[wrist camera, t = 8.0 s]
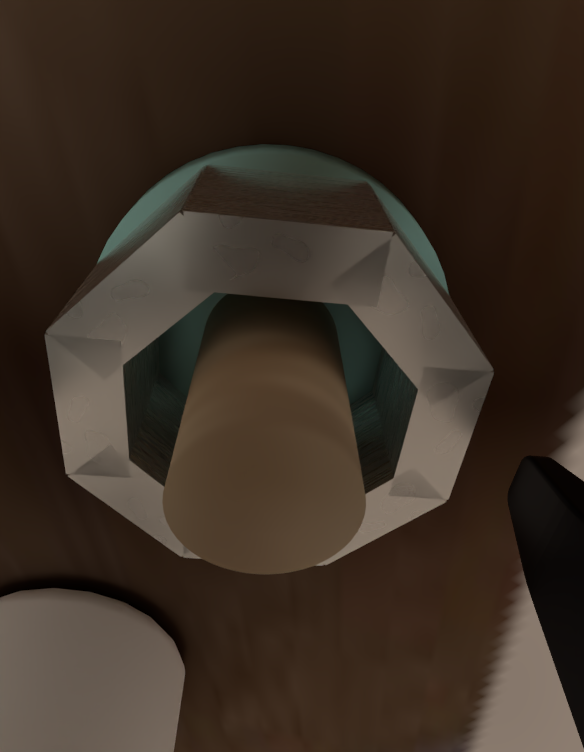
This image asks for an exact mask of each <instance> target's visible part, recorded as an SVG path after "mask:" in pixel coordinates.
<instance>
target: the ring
mask: <svg viewBox="0 0 584 752" xmlns="http://www.w3.org/2000/svg"><path fill="white" fill-rule="evenodd" d="M214 292H217V293H228V294H239V295H249V296H260V297H271V298H282V299H293V300H304V301H315V302H326V303H337V304H348V305H349V307H350V308H351V309H352V310H353V311H354V313H355V314H356V315H357V316H358V317H359V319H360V320H361V321H362V322H363V323H364V325H365V326H366V327H367V328H368V329H369V331H370V332H371V333H372V334H373V335H374V337H375V338H376V339H377V340H378V342H379V343H380V344H381V345H382V349H381V354H380V358H379V363H378V367H377V372H376V376H375V381H374V385H373V390H372V391H370V392H369V393H367V394H366V395H364V396H363V397H361V398H359V399H358V400H356V401H355V402H353V403H352V404H350V409H351V415H352V420H353V426H354V432H355V438H356V443H357V449H358V455H359V461H360V466H361V472H362V478H363V484H364V489H365V495H366V509H365V516H364V519H363V521H362V524H361V526H360V528H359V530H358V532H357V533H356V535H355V536H354V537H353V539H352V540H351V541H350V542H349V543H348V544H347V545H346V546H345V547H344V548H343V549H342V550H340V551H339V552H338V553H337V554H335V555H334V556H332V557H330V558H329V559H327V560H325V561H323V562H321V563H319V564H317V566H323V564H325V565H327V564H329V563H331V562H333V561H335V560H337V559H339V558H341V557H343V556H344V555H346V554H348V553H350V552H352V551H354V550H356V549H358V548H360V547H362V546H363V545H365V544H367V543H369V542H371V541H373V540H375V539H377V538H379V537H381V536H382V535H384V534H386V533H388V532H390V531H392V530H394V529H396V528H398V527H400V526H401V525H403V524H405V523H407V522H409V521H411V520H413V519H415V518H417V517H419V516H420V515H422V514H424V513H426V512H428V511H430V510H432V509H434V508H436V507H438V506H439V505H441V504H443V503H445V502H446V500H448V499H449V497H450V494H451V491H452V488H453V486H454V483H455V480H456V477H457V474H458V472H459V469H460V466H461V463H462V461H463V458H464V455H465V452H466V450H467V447H468V444H469V441H470V438H471V436H472V433H473V430H474V427H475V425H476V422H477V419H478V416H479V413H480V411H481V408H482V405H483V402H484V400H485V397H486V394H487V391H488V389H489V386H490V383H491V380H492V377H493V375H494V371H493V370H494V369H493V367H492V366H491V364H490V362H489V361H488V359H487V357H486V356H485V354H484V352H483V351H482V349H481V347H480V346H479V344H478V342H477V341H476V339H475V337H474V336H473V334H472V332H471V331H470V329H469V327H468V326H467V324H466V323H465V321H464V319H463V318H462V316H461V314H460V313H459V311H458V309H457V308H456V306H455V304H454V303H453V301H452V299H451V298H450V296H449V294H448V293H447V292H446V290H445V289H444V287H443V286H442V285H441V283H440V282H439V280H438V279H437V278H436V276H435V275H434V273H433V272H432V271H431V269H430V268H429V266H428V265H427V264H426V262H425V261H424V259H423V258H422V256H421V255H420V254H419V252H418V251H417V249H416V248H415V247H414V245H413V244H412V242H411V241H410V240H409V238H408V237H407V235H406V234H405V233H404V231H403V230H402V228H401V227H400V226H399V224H398V223H397V221H396V220H395V219H394V217H393V216H392V214H391V213H390V211H389V210H388V209H387V207H386V206H385V204H384V203H383V202H382V200H381V199H380V197H379V196H378V195H377V193H376V192H375V190H374V189H373V188H372V186H371V185H370V183H367V181H360V180H351V179H341V178H332V177H323V176H313V175H304V174H295V173H285V172H276V171H267V170H257V169H248V168H239V167H229V166H220V165H211V164H208V165H207V167H206V166H205V165H204V166H203V167H202V168H201V169H200V170H199V171H198V172H197V173H196V174H195V175H193V176H192V177H191V178H190V179H189V180H188V181H187V182H186V183H185V184H184V185H183V186H181V187H180V188H179V189H178V190H177V191H176V192H175V193H174V194H173V195H172V196H170V197H169V198H168V199H167V200H166V201H165V202H164V203H163V204H162V205H161V206H159V207H158V208H157V209H156V210H155V211H154V212H153V213H152V214H151V215H150V216H148V217H147V218H146V219H145V220H144V221H143V222H142V223H141V224H140V225H139V226H137V227H136V228H135V229H134V230H133V231H132V232H131V233H130V234H129V235H128V236H127V237H125V238H124V239H123V240H122V241H121V242H120V243H119V244H118V245H117V246H116V247H114V248H113V249H112V250H111V251H110V252H109V253H108V254H107V255H106V256H105V257H103V258H102V259H101V260H100V261H99V262H98V263H97V265H96V266H95V267H94V269H93V270H92V271H91V272H90V274H89V275H88V276H87V278H86V279H85V280H84V282H83V283H82V284H81V286H80V287H79V288H78V290H77V291H76V292H75V293H74V295H73V296H72V297H71V299H70V300H69V301H68V303H67V304H66V305H65V307H64V308H63V309H62V310H61V312H60V313H59V314H58V316H57V317H56V318H55V320H54V321H53V322H52V324H51V325H50V326H49V328H48V329H47V330H46V331H45V332H46V333H45V334H44V335H45V342H46V348H47V354H48V361H49V367H50V374H51V380H52V387H53V393H54V400H55V406H56V413H57V419H58V426H59V432H60V439H61V445H62V452H63V458H64V464H65V471H66V474H68V477H69V478H71V479H72V480H74V481H75V482H76V483H78V484H79V485H81V486H82V487H83V488H85V489H86V490H88V491H89V492H90V493H92V494H93V495H95V496H96V497H97V498H99V499H100V500H102V501H103V502H104V503H106V504H107V505H109V506H110V507H112V508H113V509H114V510H116V511H117V512H119V513H120V514H121V515H123V516H124V517H126V518H127V519H128V520H130V521H131V522H133V523H134V524H135V525H137V526H138V527H140V528H141V529H142V530H144V531H145V532H147V533H148V534H149V535H151V536H152V537H154V538H155V539H156V540H158V541H159V542H161V543H162V544H164V545H165V546H166V547H168V548H169V549H171V550H172V551H173V552H175V553H176V554H178V555H179V556H180V557H181V556H183V555H184V558H197V559H202V558H200V557H198V556H197V555H195V554H194V553H192V552H191V551H190V550H188V549H187V548H186V547H185V546H184V545H183V544H182V543H181V542H180V541H179V540H178V539H177V538H176V537H175V535H174V534H173V532H172V531H171V529H170V527H169V525H168V523H167V521H166V518H165V515H164V512H163V503H162V500H163V491H164V487H165V483H166V479H167V475H168V471H169V467H170V463H171V459H172V455H173V451H174V447H175V443H176V439H177V436H178V432H179V428H180V424H181V420H182V416H183V412H184V408H185V404H186V400H187V397H186V396H185V395H184V394H183V393H181V392H180V391H179V390H178V389H177V388H176V387H175V386H174V385H172V384H171V383H170V382H169V381H168V380H167V379H166V378H165V377H163V376H162V375H161V374H160V370H159V336H160V335H161V334H163V333H164V332H165V331H166V330H168V329H169V328H170V327H171V326H173V325H174V324H175V323H176V322H178V321H179V320H180V319H181V318H183V317H184V316H185V315H186V314H188V313H189V312H190V311H191V310H193V309H194V308H195V307H196V306H198V305H199V304H200V303H201V302H203V301H204V300H205V299H206V298H208V297H209V296H210V295H211V294H213V293H214Z"/></svg>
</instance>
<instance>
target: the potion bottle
mask: <svg viewBox="0 0 584 752" xmlns="http://www.w3.org/2000/svg"><path fill="white" fill-rule="evenodd" d="M184 678H185V667H184V664H183V662H182V659H181V657H180V654H179V652H178V649H177V647H176V644H175V642H174V640H173V639H172V638H171V637H170V636H169V635H168V634H167V633H166V632H165V631H164V630H163V629H162V628H161V627H160V626H159V625H158V624H157V623H156V622H155V621H154V620H153V619H152V618H151V617H150V616H148V615H146V614H144V613H142V612H141V611H139V610H137V609H135V608H134V607H132V606H130V605H128V604H126V603H125V602H122V601H119V600H116V599H112V598H109V597H106V596H102V595H99V594H96V593H93V592H88V591H79V590H69V589H60V588H47V589H36V590H24V591H18V592H15V593H12V594H9V595H6V596H3V597H0V752H174V745H175V739H176V732H177V725H178V719H179V712H180V705H181V698H182V692H183V685H184Z"/></svg>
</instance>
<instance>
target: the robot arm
mask: <svg viewBox="0 0 584 752" xmlns="http://www.w3.org/2000/svg"><path fill="white" fill-rule="evenodd" d="M508 506H509V510H510V514H511V519H512V523H513V527H514V532H515V536H516V540H517V545H518V549H519V554H520V558H521V562H522V567H523V571H524V575H525V579H526V582H527V586H528V589H529V592H530V595H531V598H532V601H533V604H534V607H535V610H536V612H537V615H538V618H539V621H540V624H541V626H542V630H543V632H544V635H545V638H546V641H547V644H548V647H549V650H550V652H551V656H552V658H553V661H554V664H555V667H556V670H557V673H558V676H559V678H560V681H561V684H562V687H563V690H564V693H565V696H566V699H567V702H568V704H569V707H570V710H571V712H572V716H573V719H574V721H575V724H576V727H577V730H578V733H579V736H580V739H581V742H582V745H583V747H584V481H582V480H581V479H579V478H578V477H577V476H575V475H574V474H572V473H571V472H570V471H568V470H567V469H566V468H564V467H563V466H562V465H560V464H559V463H557V462H556V461H555V460H553V459H552V458H549V457H542V456H526V457H524V458H523V459H522V461H521V463H520V465H519V467H518V470H517V472H516V474H515V476H514V479H513V481H512V483H511V486H510V488H509V491H508Z"/></svg>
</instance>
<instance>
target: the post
mask: <svg viewBox="0 0 584 752" xmlns="http://www.w3.org/2000/svg"><path fill="white" fill-rule="evenodd" d="M208 164H211V165H220V166H229V167H239V168H248V169H257V170H267V171H276V172H285V173H295V174H304V175H313V176H323V177H332V178H341V179H351V180H360V181H367V183H370V185H371V186H372V188H373V189H374V190H375V192H376V193H377V195H378V196H379V197H380V199H381V200H382V202H383V203H384V204H385V206H386V207H387V209H388V210H389V211H390V213H391V214H392V216H393V217H394V219H395V220H396V221H397V223H398V224H399V226H400V227H401V228H402V230H403V231H404V233H405V234H406V235H407V237H408V238H409V240H410V241H411V242H412V244H413V245H414V247H415V248H416V249H417V251H418V252H419V254H420V255H421V256H422V258H423V259H424V261H425V262H426V264H427V265H428V266H429V268H430V269H431V271H432V272H433V273H434V275H435V276H436V278H437V279H438V280H439V282H440V283H441V285H442V286H443V287H444V289H445V290H446V292H447V293H448V288H447V284H446V280H445V275H444V272H443V270H442V267H441V265H440V262H439V260H438V257H437V255H436V252H435V251H434V249H433V247H432V246H431V244H430V242H429V240H428V239H427V237H426V235H425V234H424V232H423V230H422V229H421V227H420V226H419V224H418V223H417V221H416V220H415V218H414V217H413V216H412V215H411V213H410V212H409V211H408V210H407V208H406V207H405V206H404V205H403V203H402V202H401V201H400V200H399V199H398V198H397V197H396V196H395V195H394V194H393V193H392V192H391V191H390V190H389V189H388V188H386V187H385V186H384V185H383V184H382V183H381V182H379V181H378V180H376V179H375V178H374V177H372V176H371V175H369V174H368V173H366V172H365V171H363V170H362V169H360V168H358V167H356V166H354V165H352V164H350V163H348V162H346V161H344V160H342V159H340V158H337V157H334V156H331V155H328V154H325V153H322V152H319V151H316V150H312V149H307V148H301V147H296V146H291V145H272V144H259V145H249V146H239V147H234V148H230V149H225V150H221V151H217V152H213V153H210V154H208V155H205V156H203V157H200V158H198V159H195V160H193V161H190V162H188V163H186V164H185V165H183V166H181V167H179V168H178V169H176V170H174V171H173V172H171V173H169V174H167V175H166V176H165V177H164V178H162V179H161V180H160V181H159V182H157V183H156V184H155V185H154V186H152V187H151V188H150V189H149V190H148V191H147V192H146V193H145V194H144V195H143V196H142V197H141V198H140V199H139V200H138V201H137V202H136V203H135V205H134V206H133V207H132V208H131V209H130V210H129V212H128V213H127V214H126V215H125V217H124V218H123V219H122V220H121V222H120V223H119V225H118V226H117V228H116V229H115V231H114V232H113V234H112V235H111V236H110V238H109V239H108V241H107V243H106V245H105V247H104V249H103V251H102V254H101V256H100V258H99V260H98V262H99V261H100V260H101V259H102V258H103V257H105V256H106V255H107V254H108V253H109V252H110V251H111V250H112V249H113V248H114V247H116V246H117V245H118V244H119V243H120V242H121V241H122V240H123V239H124V238H125V237H127V236H128V235H129V234H130V233H131V232H132V231H133V230H134V229H135V228H136V227H137V226H139V225H140V224H141V223H142V222H143V221H144V220H145V219H146V218H147V217H148V216H150V215H151V214H152V213H153V212H154V211H155V210H156V209H157V208H158V207H159V206H161V205H162V204H163V203H164V202H165V201H166V200H167V199H168V198H169V197H170V196H172V195H173V194H174V193H175V192H176V191H177V190H178V189H179V188H180V187H181V186H183V185H184V184H185V183H186V182H187V181H188V180H189V179H190V178H191V177H192V176H193V175H195V174H196V173H197V172H198V171H199V170H200V169H201V168H202V167H203V166H204V165H205V166H206V167H207V165H208ZM98 262H97V263H98ZM448 294H449V293H448ZM381 349H382V345H381V344H380V343H379V342H378V340H377V339H376V338H375V337H374V335H373V334H372V333H371V332H370V331H369V329H368V328H367V327H366V326H365V325H364V323H363V322H362V321H361V320H360V319H359V317H358V316H357V315H356V314H355V313H354V311H353V310H352V309H351V308H350V307H349V305H348V304H337V303H326V302H315V301H304V300H293V299H282V298H271V297H260V296H249V295H239V294H228V293H217V292H214V293H213V294H211V295H210V296H209V297H208V298H206V299H205V300H204V301H203V302H201V303H200V304H199V305H198V306H196V307H195V308H194V309H193V310H191V311H190V312H189V313H188V314H186V315H185V316H184V317H183V318H181V319H180V320H179V321H178V322H176V323H175V324H174V325H173V326H171V327H170V328H169V329H168V330H166V331H165V332H164V333H163V334H161V335H160V336H159V370H160V374H161V375H162V376H163V377H165V378H166V379H167V380H168V381H169V382H170V383H171V384H172V385H174V386H175V387H176V388H177V389H178V390H179V391H180V392H181V393H183V394H184V395H185V396H186V397H187V400H186V404H185V408H184V412H183V416H182V420H181V424H180V428H179V432H178V436H177V439H176V443H175V447H174V451H173V455H172V459H171V463H170V467H169V471H168V475H167V479H166V483H165V487H164V491H163V500H162V503H163V512H164V515H165V518H166V521H167V523H168V525H169V527H170V529H171V531H172V532H173V534H174V535H175V537H176V538H177V539H178V540H179V541H180V542H181V543H182V544H183V545H184V546H185V547H186V548H187V549H188V550H190V551H191V552H192V553H194V554H195V555H197V556H198V557H200V558H202V559H204V560H206V561H208V562H210V563H212V564H214V565H217V566H219V567H222V568H225V569H229V570H232V571H237V572H243V573H250V574H282V573H288V572H294V571H298V570H302V569H306V568H308V567H311V566H314V565H317V564H319V563H321V562H323V561H325V560H327V559H329V558H330V557H332V556H334V555H335V554H337V553H338V552H339V551H340V550H342V549H343V548H344V547H345V546H346V545H347V544H348V543H349V542H350V541H351V540H352V539H353V537H354V536H355V535H356V533H357V532H358V530H359V528H360V526H361V524H362V521H363V519H364V516H365V509H366V495H365V489H364V484H363V478H362V472H361V466H360V461H359V455H358V449H357V443H356V438H355V432H354V426H353V420H352V415H351V409H350V404H352V403H353V402H355V401H356V400H358V399H359V398H361V397H363V396H364V395H366V394H367V393H369V392H370V391H372V390H373V385H374V381H375V376H376V372H377V367H378V363H379V358H380V354H381Z"/></svg>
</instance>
